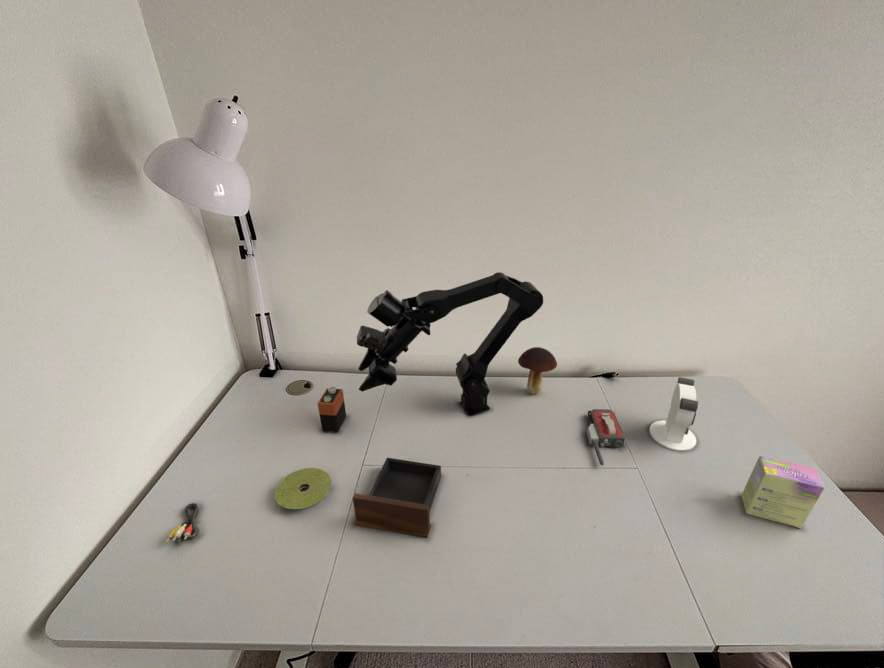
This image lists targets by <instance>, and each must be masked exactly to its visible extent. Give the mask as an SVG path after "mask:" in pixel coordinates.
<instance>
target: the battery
mask: <svg viewBox="0 0 884 668" xmlns="http://www.w3.org/2000/svg"><path fill="white" fill-rule="evenodd" d="M344 396H345V395H344V390H343V389H342V388H336V386H330V387H328V388H326V389H325V390H324V392H323V393H322V395H321V397H320V399H319V400H318V401H317V410H318V414H319V420H320V426H321V431H322V432H323V433H324V432H326V433H339V432H340V430H341V428H342V426H343V424H344V422H345V420H346V418H347V411H346V404H345V397H344Z"/></svg>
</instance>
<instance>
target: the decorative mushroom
mask: <svg viewBox="0 0 884 668" xmlns="http://www.w3.org/2000/svg"><path fill="white" fill-rule="evenodd" d="M517 362H518V364H519V366H520V367H521V368H524V369H527V370H529V374H528V377H527V385H526V388H527V391H528V393H529V394H531V395H538V394H541V391H542V389H543V378H544V377H543V373H547V372H550V371H553V370H555V369H556V368H557V367H558V362H557V359H556V357H555V356H554V355H553V353H552V352H551V351H550V350H548V349H546V348H544V347H541V346H540V347H539V346H535V347H531V348H528V349H527V350H525V351H524V352H523V353H521V354H520V356H519V357H518V359H517Z"/></svg>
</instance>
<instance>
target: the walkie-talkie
mask: <svg viewBox="0 0 884 668" xmlns="http://www.w3.org/2000/svg"><path fill="white" fill-rule="evenodd" d="M587 417H588V420H589V426H588V427H587V432H586V435H587V439H588V443H589V445H592V446H593V448H594V451H595V454H596V457H597V460H598V463H599V465H601V466H604V465H605V461H604V458H603V456H602V453H601V450H600V447H602V448H604V447H615V448H620V447H624V445H625V441H626V436H625V433H624V431H623V429H622V427H621V425H620V422H619V420H618V417H617V416H616V413H615V411H614V410H612V409H610V408H609V409H608V408H607V409H606V408H593V409H592V410H588V411H587Z"/></svg>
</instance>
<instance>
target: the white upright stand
mask: <svg viewBox="0 0 884 668" xmlns="http://www.w3.org/2000/svg"><path fill="white" fill-rule="evenodd" d="M694 385H695V379H691V378H686V377H683V376H679V377H678V379H677V383H676V385H675V386H674V390H673V392H672V396H671V401H670V407H669V409H668V414H667V417H666V420H657V421H654V422H653V423H651V425H650V426H649V430H648V431H649V435H650V437H651V438H652V439H653V440H654V441H655V442H656V443H658V444H659V445H660V446H662V447H664V448H667V449H669V450H672V451H677V452H686V451H690V450H692V449H694V448H695V446H696V445H697V437H696V436H695V434H694V432H692V430H690V427H691V426H693V425H694V423H695V420H696V416H697V415H696V414H697V410H698V407H699V401H698V400H697V391H696V387H695V386H694Z"/></svg>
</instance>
